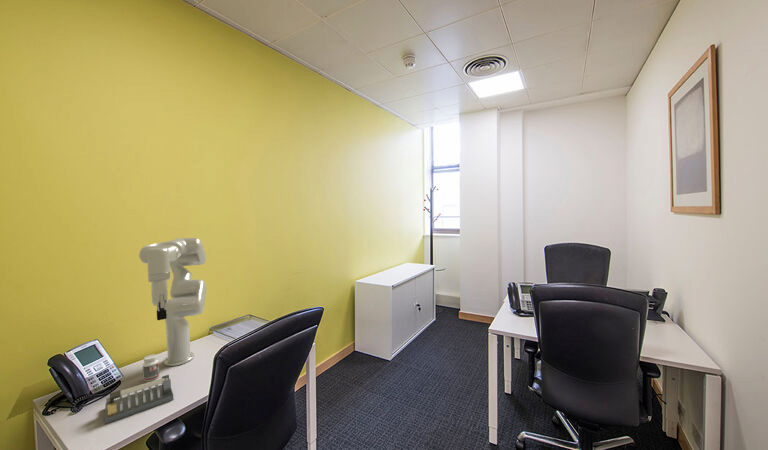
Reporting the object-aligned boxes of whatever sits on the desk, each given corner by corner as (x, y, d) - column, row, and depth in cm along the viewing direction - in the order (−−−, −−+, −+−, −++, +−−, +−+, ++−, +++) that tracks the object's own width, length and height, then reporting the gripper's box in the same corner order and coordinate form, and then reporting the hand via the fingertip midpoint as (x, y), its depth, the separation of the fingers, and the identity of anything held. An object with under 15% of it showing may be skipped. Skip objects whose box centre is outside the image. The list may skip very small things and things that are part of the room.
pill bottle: (161, 376, 137) (160, 355, 136) (147, 383, 132) (145, 361, 131) (155, 373, 140) (154, 352, 139) (141, 379, 135) (139, 358, 134)
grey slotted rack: (105, 408, 115) (104, 390, 115) (169, 386, 129) (168, 371, 128) (105, 424, 106) (103, 405, 106) (173, 399, 120) (172, 382, 119)
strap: (167, 378, 125) (166, 375, 125) (168, 382, 122) (168, 379, 122) (110, 395, 113) (109, 393, 113) (109, 400, 110) (109, 398, 110)
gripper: (146, 275, 131) (149, 316, 132) (149, 281, 120) (152, 326, 121) (167, 272, 136) (170, 312, 137) (172, 278, 125) (175, 321, 126)
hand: (161, 319), depth 129 cm, fingers closed
